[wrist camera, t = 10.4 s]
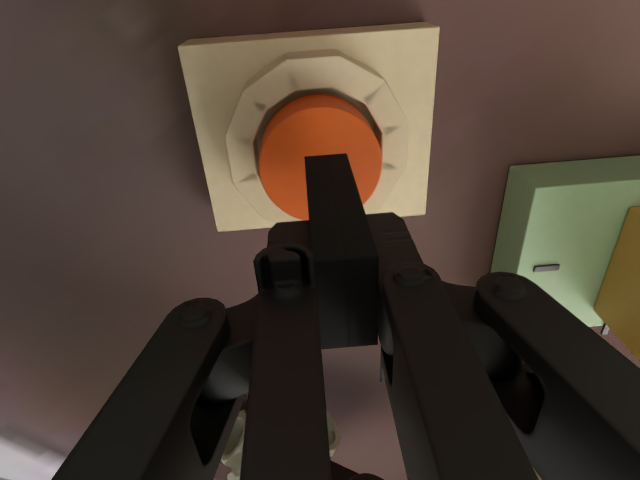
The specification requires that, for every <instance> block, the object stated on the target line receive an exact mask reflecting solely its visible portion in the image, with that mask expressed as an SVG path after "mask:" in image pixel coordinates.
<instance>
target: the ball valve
mask: <svg viewBox="0 0 640 480" xmlns="http://www.w3.org/2000/svg"><path fill="white" fill-rule="evenodd" d="M326 414H327V426H328V438H329V450H330V462H331V474H332V480H384V479H382V478H380V477H378V476H376V475H373V474H369V473H362V474H358V473H356V472H354V471H352V470H350V469H348V468H345V467H343V466H341V465H339V464H337V463H335V462H332V461H331V458H332V455H333V454H334V452H335V450H336V449H337V447H338V445H339V442H340V438H341V437H340V433H339V430H338V427H337V425H336V423H335V421H334V419H333V418H332V416H331V415H330V413H329V412H328V411H326ZM245 421H246V409H243V410H241V411H240V412H239V414H238V417H237V419H236V422H235V424H234V427H233V429H232V432H231V435H230V437H229V440H228V442H227V445H226V447H225V450H224V452H223V455H222V458H221V461H222V463H223V465H225V466H228V467H230V468H231V470H230V472H229V473H228V475H227V479H228V480H240V470H241V461H242V450H243V441H244V430H245Z"/></svg>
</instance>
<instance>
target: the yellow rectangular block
mask: <svg viewBox="0 0 640 480" xmlns="http://www.w3.org/2000/svg"><path fill="white" fill-rule="evenodd" d="M593 310H594V311H595V312H596V314H597V315H598V316H599V317H600V318H601V319H602V320H603V321H604V322H605V324H606V325H607V326H608V327H609V328H610V329H611V330H612V331H613V332H614V333H615V335H616V336H617V337H618V338H619V339H620V340H621V341H622V342H623V343H624V344H625V346H626V347H627V348H628V349H629V350H630V351H631V352H632V353H633V354H634V355H635V357H636V358H637V359H638V360H639V361H640V206H639V207H630V208H629V211H628V213H627V216H626V219H625V222H624V225H623V227H622V230H621V233H620V236H619V239H618V241H617V244H616V247H615V250H614V252H613V255H612V258H611V261H610V264H609V266H608V269H607V272H606V275H605V278H604V280H603V283H602V286H601V289H600V292H599V294H598V297H597V300H596V303H595V306H594V308H593Z"/></svg>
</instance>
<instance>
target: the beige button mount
mask: <svg viewBox="0 0 640 480" xmlns="http://www.w3.org/2000/svg"><path fill="white" fill-rule="evenodd" d="M439 30H440V27H439V26H436V25H433V24H430V23H427V22H415V23H401V24H388V25H374V26H361V27H347V28H334V29H320V30H307V31H293V32H280V33H266V34H253V35H239V36H225V37H212V38H198V39H188V40H186V41H185V42H183V43H182V44H180V45H179V46H178V52H179V57H180V61H181V66H182V70H183V75H184V80H185V84H186V89H187V93H188V98H189V103H190V107H191V112H192V116H193V121H194V126H195V130H196V135H197V140H198V144H199V149H200V153H201V158H202V163H203V167H204V172H205V176H206V181H207V186H208V190H209V195H210V199H211V204H212V209H213V213H214V218H215V222H216V227H217V231H218V232H222V231H234V230H246V229H258V228H270V227H273V226H274V225H275V224H276V223H278V222H290V221H302V220H300V219H297V218H295V217H293V216H290V215H288V214H287V213H285V212H284V211H282V210H281V209H280V208H278V207H277V206H276V205H275V204H274V203H273V202H272V201H271V199H270V198H269V197H268V195H267V194H266V192H265V190H264V188H263V185H262V183H261V179H260V175H259V155H260V149H261V143H262V138H263V134H264V131H265V128H266V126H267V124H268V122H269V121H270V119H271V118H272V116H273V115H274V114H275V113H276V112H277V111H278V110H279V109H280V108H281V107H282V106H284V105H285V104H286V103H288V102H290V101H291V100H294V99H296V98H298V97H301V96H305V95H310V94H328V95H333V96H337V97H339V98H342V99H344V100H346V101H348V102H349V103H351V104H352V105H354V106H355V107H356V108H357V109H358V110H359V111H360V112H361V113H362V114H363V115H364V117H365V118H366V120H367V121H368V123H369V125H370V127H371V129H372V131H373V132H374V134H375V136H376V138H377V140H378V143H379V146H380V149H381V154H382V171H381V176H380V179H379V182H378V185H377V187H376V189H375V191H374V192H373V194H372V195H371V197H370V198H369V199H368V200H367V201H366V203H365V204H364V205H363V207H364V211H365V214H374V213H387V212H393V213H395V214H396V215H397V216H399V217H403V216H415V215H425V210H426V197H427V184H428V171H429V158H430V146H431V133H432V120H433V107H434V94H435V81H436V69H437V56H438V43H439Z"/></svg>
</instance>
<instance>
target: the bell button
mask: <svg viewBox="0 0 640 480" xmlns="http://www.w3.org/2000/svg"><path fill="white" fill-rule="evenodd" d="M343 153H347V156H348V159H349V162H350V166H351V169H352V172H353V175H354V178H355V182H356V185H357V188H358V191H359V194H360V198H361V201H362V204H363V205H364V204H365V203H366V201H367V200H368V199H369V198H370V197H371V195H372V194H373V192H374V191H375V189H376V187H377V185H378V182H379V179H380V176H381V171H382V154H381V149H380V146H379V143H378V140H377V138H376V136H375V134H374V132H373V131H372V129H371V127H370V125H369V123H368V121H367V120H366V118H365V117H364V115H363V114H362V113H361V112H360V111H359V110H358V109H357V108H356V107H355V106H354V105H352V104H351V103H349V102H348V101H346V100H344V99H342V98H339V97H337V96H333V95H328V94H310V95H305V96H301V97H298V98H296V99H294V100H291V101H290V102H288V103H286V104H285V105H284V106H282V107H281V108H280V109H279V110H278V111H277V112H276V113H275V114H274V115H273V116H272V118H271V119H270V121H269V122H268V124H267V126H266V128H265V131H264V134H263V138H262V143H261V149H260V155H259V175H260V179H261V183H262V185H263V188H264V190H265V192H266V194H267V195H268V197H269V198H270V199H271V201H272V202H273V203H274V204H275V205H276V206H277V207H278V208H280V209H281V210H282V211H284V212H285V213H287V214H288V215H290V216H293V217H295V218H297V219H300V220H309V214H308V200H307V186H306V172H305V158H304V156H317V155H330V154H343Z"/></svg>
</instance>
